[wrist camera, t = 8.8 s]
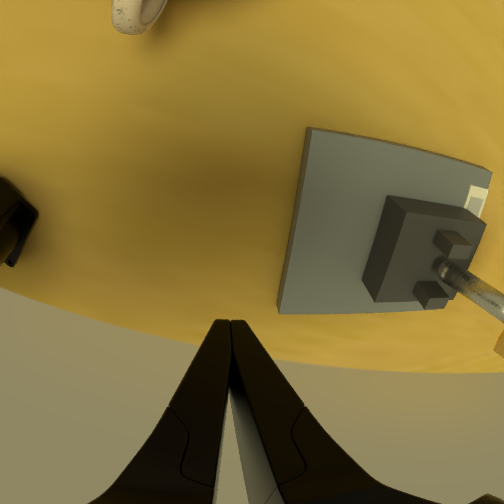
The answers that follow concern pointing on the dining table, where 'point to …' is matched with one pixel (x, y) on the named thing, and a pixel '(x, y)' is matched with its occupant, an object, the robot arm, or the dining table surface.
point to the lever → (475, 293)
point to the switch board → (378, 226)
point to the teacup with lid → (136, 15)
